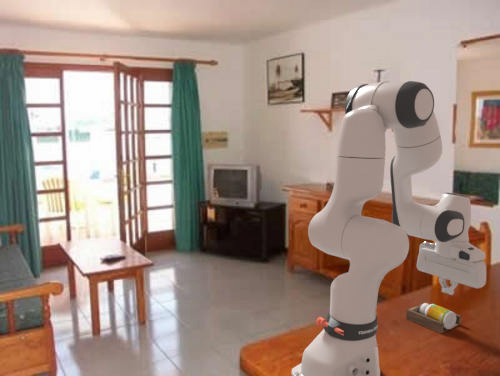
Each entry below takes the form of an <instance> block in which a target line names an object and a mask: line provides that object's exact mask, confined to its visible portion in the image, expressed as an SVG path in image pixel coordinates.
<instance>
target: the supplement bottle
mask: <svg viewBox="0 0 500 376" xmlns="http://www.w3.org/2000/svg"><path fill="white" fill-rule="evenodd" d="M427 303H428V302H424V303H421V304H422V305H421V304H420V305H421V307H420V314H423V315H425V316H427V317H430V318H432V319H435V320H437V321H440V322H442V323H444V327H443V328H445V329H450V330H452V329H453V328H452V327H453V326H454V325H455V323H456V314H457V313H455V312H454V311H451V310H450V309H448V308H445V307H443V306H440V305H437V304H435V303H429V304H430V305H429V304H427ZM451 328H452V329H451Z"/></svg>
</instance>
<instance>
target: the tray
mask: <svg viewBox="0 0 500 376" xmlns="http://www.w3.org/2000/svg"><path fill="white" fill-rule="evenodd" d="M426 303H427V304H429V305H430V304H431V303H428V302H426ZM422 304H423V303H421V304H418V305H416V306H414V307H410V308H408V309H406V315H405V316H406V317H405V318H407V319H406V320H409V321H411V322H414V323H416V324H418V325H421V326H423V327H426V328H428V329H430V330H433V331H435V332H437V333H439V334H443V333H445V332H447V331H450V330H452V329H454V328H457V327H458V326H461V323H462V315H460V314H457V313H455V314H456V323H455V325H454V326H453V327H452V328H451V329H445V328H443V327H444V323H442V322H440V321H437V320H435V319H432V318H430V317H427V316H425V315H423V314H420V307H421V305H422Z"/></svg>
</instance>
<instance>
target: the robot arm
mask: <svg viewBox="0 0 500 376" xmlns="http://www.w3.org/2000/svg"><path fill="white" fill-rule="evenodd" d="M434 98H435V97H434V94H433V92H432V90H431V89H430V88H429V86H428V85H426V83H423V82H421V81H413V80H409V81H379V82H374V83H370V84H368V83H363V84H360V85H358V86H355V87H354V88H352V89H351V90H350V91H349V93H348V95H347V97H346V99H345V104H344V114H345V115H344V116H343V117H342V120H341V125H340V129H339V133H338V139H337V146H336V158H335V159H336V160H335V161H336V162H335V174H334V182H333V188H332V191H331V195H330V197H329V199H328V201H327V203H326V205H325V206H324V207H323V208H322V210H320V211H319V212H317V213H316V214H315V215H314V216H313V217H312V219H311V220H310V222H309V223H308V229H307V231H308V232H307V235H308V239H309V242H310V244H311V245H312V246H313V247H314V248H316V249H318V250H319V251H321V252H323V253H324V254H327V255H329V256H334V257H337V258H341V259H344V260H348V261H349V268H348V271H347V272H344V273H342V274H341V273H340V274H339V275H337V277H335V278H334V279H333V281H332V282H331V284H330V295H329V296H330V299H329V310H328V313H327V315H326V319H324V318H323V317H321V316H319V317H317V319H316V321H315V323H316V325H318V326H319V327H321V328H323V329H322V330H321V331H320V333H318V335H316V337H315V338H314V339H313V340H312V341H311V343H309V345H308V346H306V348H305V349H304V351H303V353H302V359H301V362H300V363H299V364H297V365H296V366H294V367H292V368H291V373H290V374H291V376H381V368H380V358H379V357H380V356H379V348H378V343H377V336H376V334H377V333H378V326H379V323H378V316H377V304H378V295H379V291H380V290H379V288H380V285H381V283H382V282H383V280H384V277H385V276H386V275H387V274H388V273H389V272H390V271H392V270H393V269H396V268H398V267H399V266H401V265H402V263H403V262H404V261H405V260H406V259H407V257H408V254H409V250H410V239H409V237H415V238H419V239H422V240H423V239H424V240H429V241H433V242H435V243H433V242H428V241H424V242H421V243H420V244H419V246H418V247H419V249H418V251H419V252H418V255H417V260H416V268H417V270H418V271H419V272H423V273H424V274H425V273H426V274H429V275H432V276H435V277H438V282H439V284H440V286H441V293H444V294H446V295H450V296H453V295H454V294H455V289H456V288H457V287H458V285H459V284H461V285H464V286H467V287H470V288H474V289H481V288H483V287H484V286H485V285H486V283H487V265H486V263H485V261H484V260H485V258H486V253H485V252H484V251H483V250H481V249H480V248H478V247H476V246H475V245H473V244H471V243H470V238H469V229H470V227H471V219H472V217H471V216H472V206H471V200H470V198H469V197H468V196H467V195H464V194H458V193H453V192H443V193H441V196H440V198H439V199H440V200H439V202H438V203H437V204H434V205H428V204H423V203H422V204H421V203H419V202H417V201H415V199H414V198H413V191H412V189H413V188H412V176H414V175H417V174H420V173H424V172H425V171H427V170H429V169H430V168H433V166H435V165H436V163H438V161H439V160H440V158H441V156H442V154H443V142H442V141H443V140H442V136H441V132H440V128H439V127H440V126H439V124H438V120H437V116H436V115H435V112H434V110H435V109H434V108H435V99H434ZM388 129H391V130H392V132H393V137H394V143H395V147H396V148H395V149H396V153H395V155H394V156H392V157H393V158H391V162H390V167H389V169H390V171H389V172H390V176H389V177H390V186H391V199H392V213H391V222H390V221H388V220H386V219H380V218H376V217H370V216H365V215H362V212H363V207H364V205H365V204H366V202H368V201H370V200H373V199H374V198H376V197H378V195H380V193H381V192H382V191H383V188H384V182H385V181H384V180H385V167H386V166H385V164H386V131H388ZM447 280H448V281H450V282H449V285H450V286H449V285H448V283H447Z"/></svg>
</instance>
